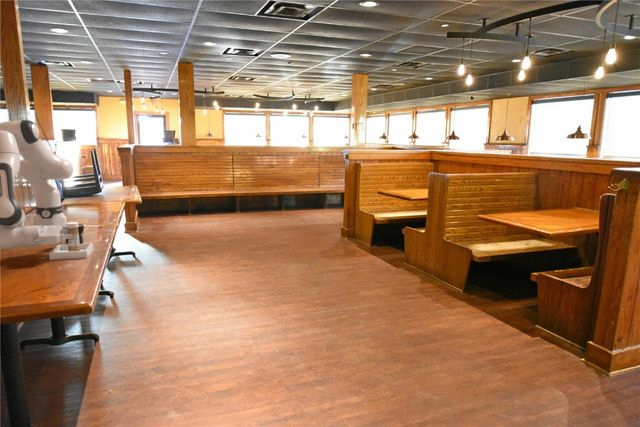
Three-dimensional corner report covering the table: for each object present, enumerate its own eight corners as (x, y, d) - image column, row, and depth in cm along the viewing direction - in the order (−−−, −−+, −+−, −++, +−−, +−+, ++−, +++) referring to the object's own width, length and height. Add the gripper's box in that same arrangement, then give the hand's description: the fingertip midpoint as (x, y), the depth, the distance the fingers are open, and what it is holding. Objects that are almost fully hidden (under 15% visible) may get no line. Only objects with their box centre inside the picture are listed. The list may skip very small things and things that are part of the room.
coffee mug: (76, 249, 196) (74, 228, 194) (59, 248, 198) (58, 226, 196) (94, 243, 207) (92, 223, 205) (78, 242, 209) (77, 221, 207)
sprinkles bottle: (66, 253, 187) (63, 223, 185) (75, 250, 191) (73, 221, 189) (73, 254, 185) (70, 224, 183) (82, 252, 189) (80, 222, 187)
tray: (58, 251, 192) (58, 244, 192) (93, 249, 197) (93, 243, 196) (49, 260, 179) (49, 253, 179) (87, 258, 183) (86, 251, 183)
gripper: (31, 234, 171) (71, 231, 177) (37, 224, 188) (73, 221, 195) (33, 249, 172) (72, 246, 178) (38, 237, 190) (74, 235, 196)
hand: (73, 233), depth 187 cm, fingers open, 8 cm apart
